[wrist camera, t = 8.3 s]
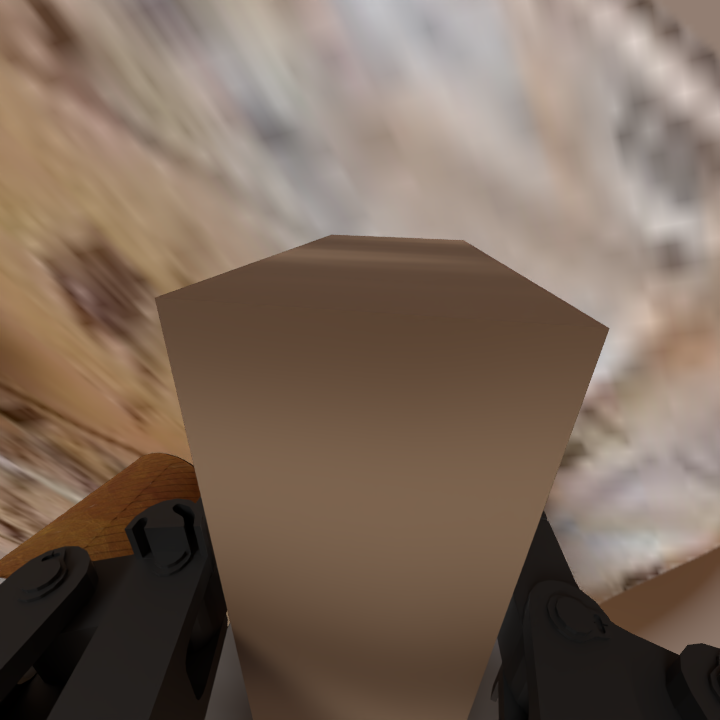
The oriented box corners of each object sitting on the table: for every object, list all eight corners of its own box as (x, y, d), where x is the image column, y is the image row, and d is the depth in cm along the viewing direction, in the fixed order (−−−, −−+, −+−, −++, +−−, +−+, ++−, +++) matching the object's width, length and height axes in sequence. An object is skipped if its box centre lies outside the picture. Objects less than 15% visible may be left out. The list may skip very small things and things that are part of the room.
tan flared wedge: (473, 548, 15) (531, 856, 8) (282, 522, 16) (181, 775, 9) (551, 244, 10) (973, 353, 2) (254, 231, 11) (-71, 282, 3)
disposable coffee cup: (214, 436, 23) (39, 642, 12) (243, 532, 27) (131, 752, 16) (93, 432, 24) (-159, 613, 14) (138, 524, 28) (-30, 721, 17)
